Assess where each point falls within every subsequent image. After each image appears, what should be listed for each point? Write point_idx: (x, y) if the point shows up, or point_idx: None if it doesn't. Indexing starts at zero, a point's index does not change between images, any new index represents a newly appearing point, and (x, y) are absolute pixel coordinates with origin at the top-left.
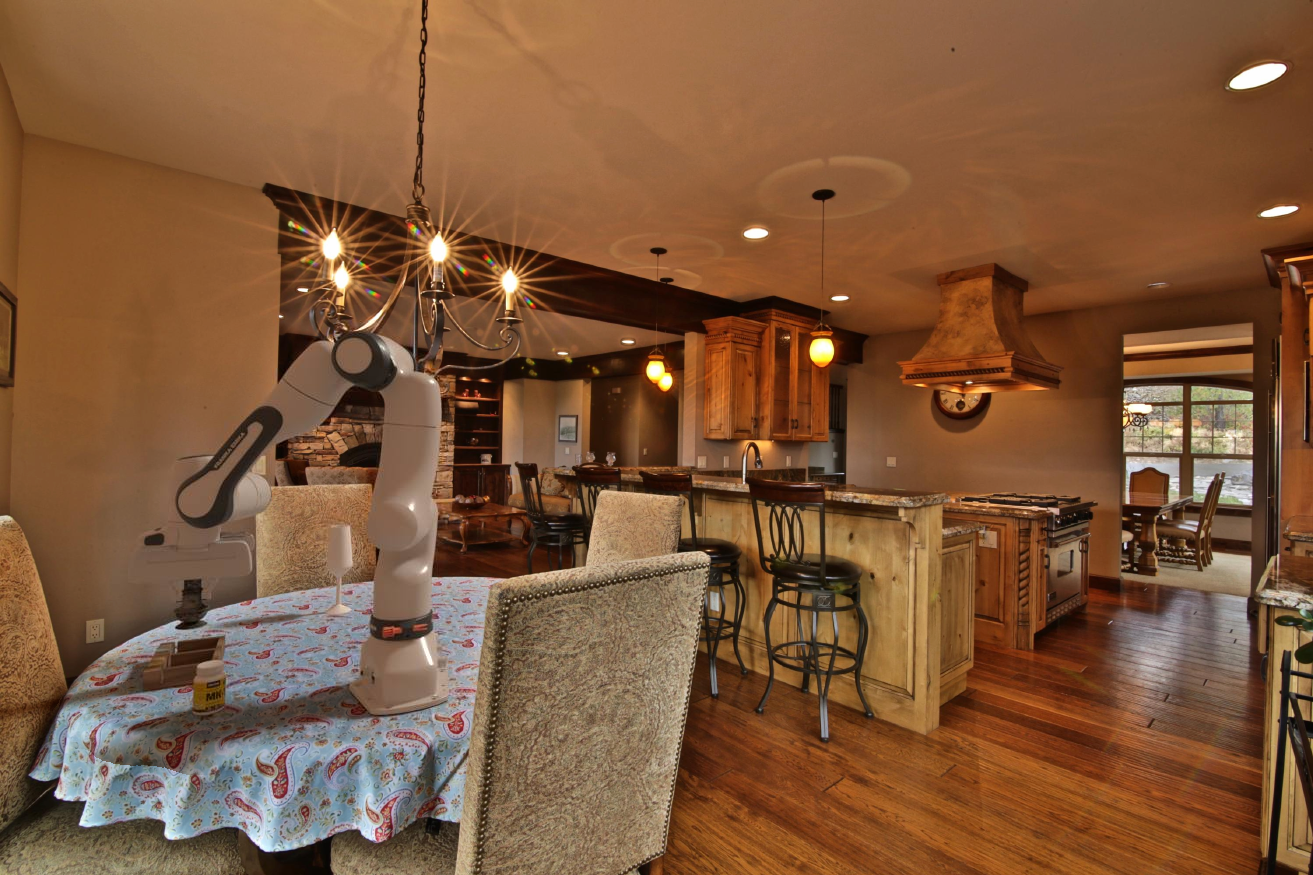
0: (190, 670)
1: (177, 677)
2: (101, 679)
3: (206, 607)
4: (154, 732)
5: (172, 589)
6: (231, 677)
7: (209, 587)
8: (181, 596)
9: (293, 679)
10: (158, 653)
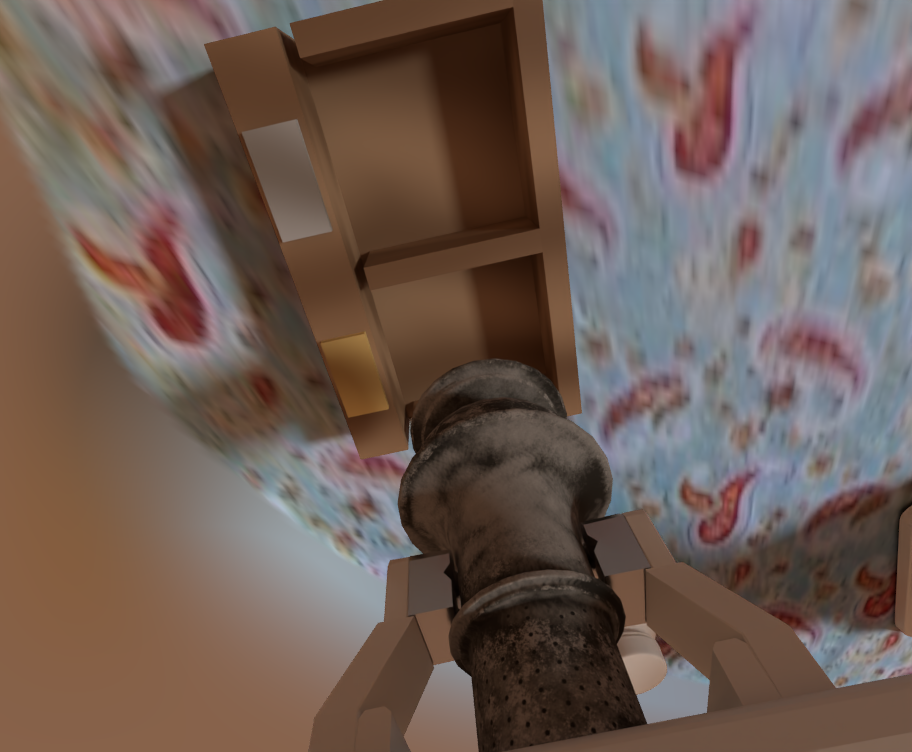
0: None
1: None
2: (145, 281)
3: (599, 508)
4: None
5: (400, 729)
6: (605, 366)
7: (689, 658)
8: None
9: (784, 422)
10: (299, 249)
